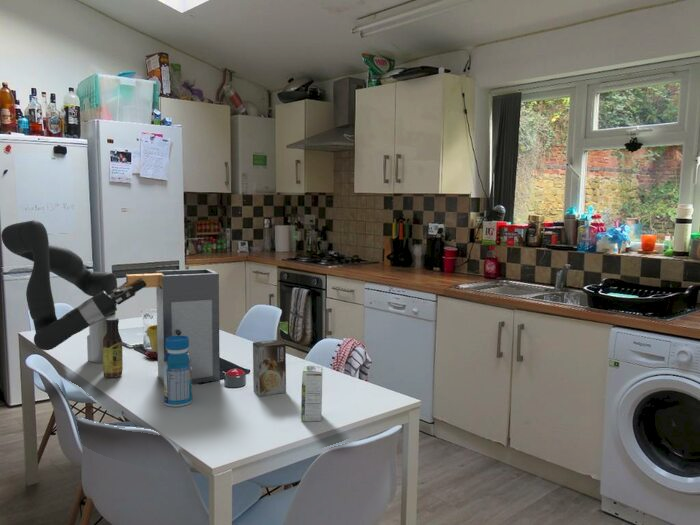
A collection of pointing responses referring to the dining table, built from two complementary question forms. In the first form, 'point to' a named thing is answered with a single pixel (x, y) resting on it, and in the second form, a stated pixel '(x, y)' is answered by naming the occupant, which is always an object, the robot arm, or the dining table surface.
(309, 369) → the drink carton
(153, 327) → the plant pot
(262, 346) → the coffee box
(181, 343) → the beverage bottle
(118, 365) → the sauce bottle
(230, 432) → the dining table surface
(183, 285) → the small grey cabinet
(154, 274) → the wooden handled hammer
